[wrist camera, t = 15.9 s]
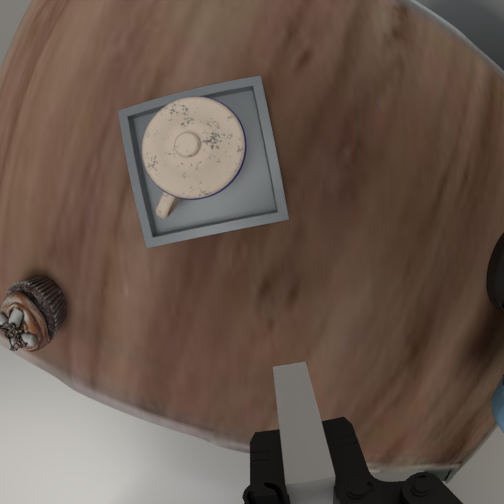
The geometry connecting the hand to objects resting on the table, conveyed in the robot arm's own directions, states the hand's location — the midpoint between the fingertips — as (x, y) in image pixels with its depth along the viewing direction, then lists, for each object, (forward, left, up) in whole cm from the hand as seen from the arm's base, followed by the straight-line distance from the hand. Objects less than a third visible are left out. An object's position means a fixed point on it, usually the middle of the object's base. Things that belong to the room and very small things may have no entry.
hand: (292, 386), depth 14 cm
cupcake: (+33, +1, -25) cm, 41 cm away
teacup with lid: (+5, -12, -24) cm, 27 cm away
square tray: (+5, -12, -25) cm, 28 cm away
